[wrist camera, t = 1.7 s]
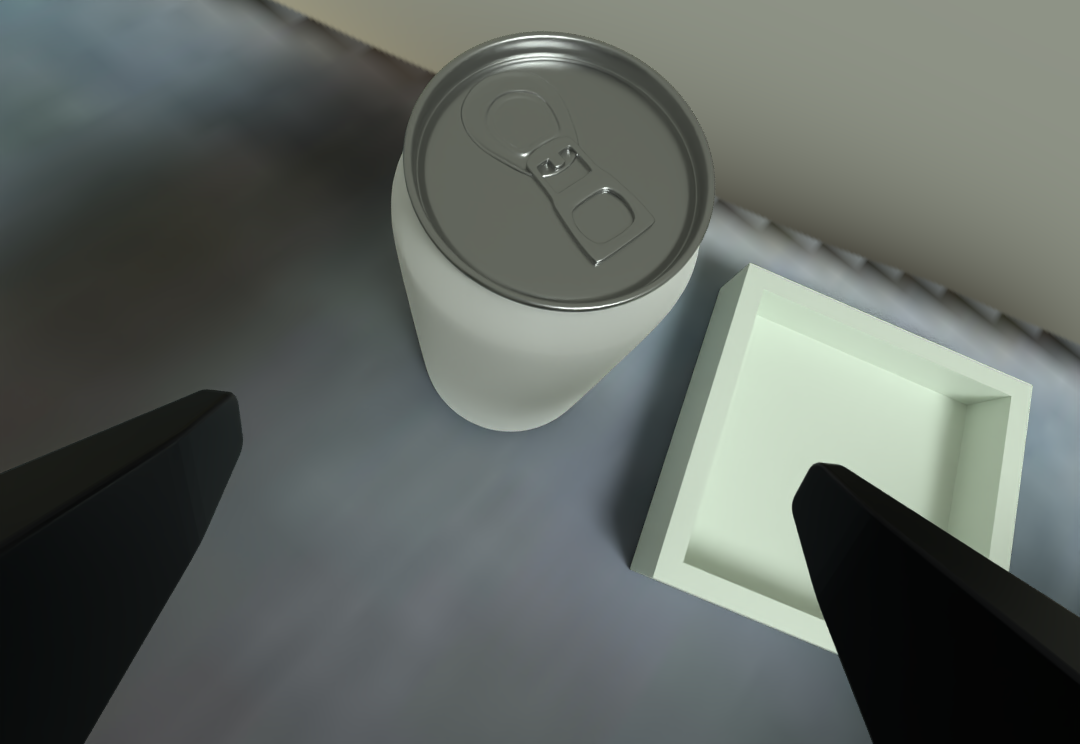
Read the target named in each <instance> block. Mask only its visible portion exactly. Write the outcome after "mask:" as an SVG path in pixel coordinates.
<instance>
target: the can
mask: <svg viewBox="0 0 1080 744" xmlns="http://www.w3.org/2000/svg"><path fill="white" fill-rule="evenodd" d="M714 198H715V174H714V166H713V161H712V156H711V152H710V148H709V146H708V142H707V140H706V137H705V135H704V132H703V130H702V128H701V126H700V124H699V122H698V120H697V118H696V116H695V115H694V113H693V111H692V110H691V108H690V107H689V106H688V104H687V103H686V101H684V99H683V98H682V96H681V95H680V94H679V93H678V92H677V91H676V90H675V88H674V87H673V86H672V85H671V84H670V83H669V82H668V81H667V80H665V78H663V77H662V76H661V75H660V74H659V73H658V72H656V71H655V70H654V69H652V68H651V67H650V66H648V65H647V64H646V63H644V62H643V61H641V60H640V59H638V58H636V57H634V56H633V55H631V54H629V53H627V52H625V51H623V50H621V49H619V48H617V47H615V46H612V45H610V44H607V43H605V42H602V41H599V40H596V39H592V38H589V37H585V36H581V35H576V34H569V33H562V32H546V31H545V32H544V31H540V32H525V33H518V34H511V35H507V36H502V37H499V38H496V39H492V40H490V41H487V42H484V43H482V44H479V45H477V46H475V47H473V48H471V49H469V50H467V51H465V52H464V53H462V54H461V55H459V56H457V57H456V58H455V59H453V60H452V61H450V62H449V63H448V64H447V65H446V66H445V67H443V68H442V69H441V70H440V71H439V72H438V73H437V74H436V75H435V76H434V77H433V78H432V80H431V81H430V82H429V83H428V85H427V86H426V87H425V89H424V90H423V92H422V93H421V95H420V96H419V98H418V100H417V102H416V104H415V106H414V108H413V110H412V113H411V115H410V118H409V121H408V125H407V129H406V133H405V139H404V147H403V152H402V155H401V157H400V160H399V162H398V165H397V168H396V172H395V176H394V180H393V186H392V195H391V218H392V229H393V235H394V241H395V246H396V251H397V255H398V260H399V264H400V268H401V273H402V277H403V281H404V285H405V289H406V293H407V297H408V301H409V305H410V309H411V313H412V317H413V321H414V325H415V328H416V332H417V336H418V340H419V344H420V347H421V351H422V355H423V358H424V362H425V365H426V369H427V372H428V374H429V377H430V379H431V382H432V384H433V386H434V387H435V389H436V391H437V392H438V394H439V395H440V396H441V398H442V399H443V400H444V402H445V403H446V404H447V405H448V406H449V407H450V408H451V409H452V410H454V411H455V412H456V413H457V414H459V415H460V416H461V417H463V418H465V419H466V420H468V421H470V422H472V423H474V424H476V425H479V426H481V427H484V428H488V429H492V430H497V431H508V432H514V431H524V430H529V429H533V428H537V427H540V426H542V425H545V424H547V423H549V422H551V421H553V420H555V419H556V418H558V417H559V416H561V415H562V414H563V413H565V412H566V411H567V410H568V409H570V408H571V407H572V406H573V405H574V404H575V403H576V402H578V401H579V400H580V399H581V398H582V397H583V396H584V395H585V394H586V393H587V392H588V391H589V390H590V389H592V388H593V387H594V386H595V385H596V384H597V383H598V382H599V381H600V380H601V379H602V378H603V377H604V376H605V375H607V374H608V373H609V372H610V371H611V370H612V369H613V368H614V367H615V366H616V365H617V364H618V363H619V362H620V361H621V360H622V359H623V358H624V357H625V356H627V355H628V354H629V353H630V352H631V351H632V350H633V349H634V348H635V347H636V346H637V345H638V344H639V343H640V342H641V341H642V340H643V339H644V338H645V337H646V336H647V335H648V334H649V333H650V332H651V331H652V330H653V329H654V328H655V327H656V326H657V325H658V324H659V323H660V322H661V321H662V320H663V318H664V317H665V316H666V315H667V314H668V313H669V312H670V310H671V309H672V308H673V306H674V305H675V303H676V302H677V301H678V299H679V298H680V296H681V294H682V293H683V291H684V290H685V288H686V286H687V284H688V282H689V280H690V278H691V275H692V273H693V270H694V267H695V264H696V260H697V256H698V251H699V246H700V243H701V241H702V240H703V237H704V235H705V233H706V231H707V228H708V225H709V222H710V219H711V215H712V211H713V205H714Z"/></svg>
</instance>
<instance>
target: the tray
mask: <svg viewBox="0 0 1080 744" xmlns="http://www.w3.org/2000/svg"><path fill="white" fill-rule="evenodd" d="M1032 387H1033V385H1031V384H1028V383H1026V382H1024V381H1021V380H1019V379H1017V378H1014V377H1012V376H1010V375H1007V374H1005V373H1003V372H1001V371H998V370H996V369H994V368H991V367H989V366H987V365H984V364H982V363H980V362H978V361H975V360H973V359H971V358H968V357H966V356H964V355H961V354H959V353H957V352H954V351H952V350H950V349H948V348H945V347H943V346H941V345H938V344H936V343H934V342H931V341H929V340H927V339H925V338H922V337H920V336H918V335H915V334H913V333H911V332H908V331H906V330H904V329H901V328H899V327H897V326H895V325H892V324H890V323H888V322H885V321H883V320H881V319H878V318H876V317H874V316H872V315H869V314H867V313H865V312H862V311H860V310H858V309H855V308H853V307H851V306H848V305H846V304H844V303H842V302H839V301H837V300H835V299H832V298H830V297H828V296H825V295H823V294H821V293H819V292H816V291H814V290H812V289H809V288H807V287H805V286H802V285H800V284H798V283H796V282H793V281H791V280H789V279H786V278H784V277H782V276H779V275H777V274H775V273H772V272H770V271H768V270H766V269H763V268H761V267H759V266H756V265H754V264H752V263H749V264H748V265H747V266H746V267H745V268H744V269H742V270H741V271H740V272H739V273H738V274H737V275H735V276H734V277H733V278H732V279H731V280H730V281H728V282H727V283H726V284H725V285H724V286H723V287H721V288H720V291H719V294H718V297H717V300H716V303H715V306H714V309H713V312H712V315H711V319H710V322H709V325H708V328H707V331H706V334H705V337H704V340H703V343H702V346H701V350H700V353H699V356H698V359H697V362H696V365H695V368H694V371H693V374H692V378H691V381H690V384H689V387H688V390H687V393H686V396H685V399H684V402H683V405H682V409H681V412H680V415H679V418H678V421H677V424H676V427H675V430H674V433H673V436H672V440H671V443H670V446H669V449H668V452H667V455H666V458H665V461H664V464H663V467H662V471H661V474H660V477H659V480H658V483H657V486H656V489H655V492H654V495H653V499H652V502H651V505H650V508H649V511H648V514H647V517H646V520H645V523H644V526H643V530H642V533H641V536H640V539H639V542H638V545H637V548H636V551H635V554H634V557H633V561H632V564H631V567H630V570H632V571H634V572H637V573H639V574H642V575H644V576H647V577H649V578H652V579H654V580H656V581H659V582H661V583H664V584H666V585H669V586H671V587H673V588H676V589H678V590H681V591H683V592H686V593H688V594H691V595H693V596H695V597H698V598H700V599H703V600H705V601H708V602H710V603H712V604H715V605H717V606H720V607H722V608H725V609H727V610H730V611H732V612H734V613H737V614H739V615H742V616H744V617H747V618H749V619H751V620H754V621H756V622H759V623H761V624H764V625H766V626H769V627H771V628H773V629H776V630H778V631H781V632H783V633H786V634H788V635H790V636H793V637H795V638H798V639H800V640H803V641H805V642H808V643H810V644H812V645H815V646H817V647H820V648H822V649H825V650H827V651H829V652H832V653H834V654H837V655H838V653H837V651H836V648H835V646H834V643H833V640H832V638H831V635H830V633H829V630H828V628H827V625H826V623H825V620H824V618H823V615H822V612H821V610H820V607H819V604H818V601H817V598H816V595H815V592H814V589H813V586H812V582H811V579H810V575H809V571H808V568H807V564H806V561H805V557H804V554H803V550H802V547H801V543H800V539H799V536H798V532H797V529H796V525H795V522H794V518H793V514H792V501H793V498H794V496H795V494H796V492H797V490H798V488H799V486H800V485H801V483H802V481H803V479H804V477H805V475H806V474H807V472H808V470H809V468H810V467H811V466H812V465H813V464H815V463H818V462H823V463H832V464H839V465H842V466H844V467H846V468H847V469H849V470H851V471H852V472H854V473H855V474H857V475H858V476H860V477H861V478H863V479H865V480H866V481H868V482H869V483H871V484H872V485H874V486H875V487H877V488H879V489H880V490H882V491H883V492H885V493H886V494H888V495H890V496H891V497H893V498H894V499H896V500H897V501H899V502H900V503H902V504H904V505H905V506H907V507H908V508H910V509H911V510H913V511H914V512H916V513H918V514H919V515H921V516H922V517H924V518H925V519H927V520H929V521H930V522H932V523H933V524H935V525H936V526H938V527H939V528H941V529H943V530H944V531H946V532H947V533H949V534H950V535H952V536H953V537H955V538H957V539H958V540H960V541H961V542H963V543H964V544H966V545H968V546H969V547H971V548H972V549H974V550H975V551H977V552H978V553H980V554H982V555H983V556H985V557H986V558H988V559H989V560H991V561H992V562H994V563H996V564H997V565H999V566H1000V567H1002V568H1003V569H1005V570H1007V571H1008V572H1009V567H1010V559H1011V551H1012V543H1013V535H1014V528H1015V520H1016V512H1017V504H1018V496H1019V489H1020V481H1021V473H1022V465H1023V457H1024V449H1025V442H1026V434H1027V426H1028V418H1029V410H1030V403H1031V395H1032Z"/></svg>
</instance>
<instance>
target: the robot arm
mask: <svg viewBox="0 0 1080 744" xmlns="http://www.w3.org/2000/svg"><path fill="white" fill-rule="evenodd" d="M242 445H243V434H242V427H241V420H240V412H239V405H238V400H237V398H236V396H235V395H234V394H233V393H231V392H224V391H216V390H201V391H198V392H196V393H193V394H191V395H189V396H186V397H184V398H181V399H179V400H176V401H174V402H172V403H169V404H167V405H164V406H162V407H160V408H157V409H155V410H152V411H150V412H148V413H145V414H143V415H140V416H138V417H136V418H133V419H131V420H128V421H126V422H123V423H121V424H119V425H116V426H114V427H111V428H109V429H107V430H104V431H102V432H99V433H97V434H95V435H92V436H90V437H87V438H85V439H83V440H80V441H78V442H75V443H73V444H70V445H68V446H66V447H63V448H61V449H58V450H56V451H54V452H51V453H49V454H46V455H44V456H42V457H39V458H37V459H34V460H32V461H29V462H27V463H25V464H22V465H20V466H17V467H15V468H13V469H10V470H8V471H5V472H3V473H1V474H0V744H84V743H85V741H86V739H87V738H88V736H89V734H90V733H91V731H92V729H93V727H94V726H95V724H96V722H97V721H98V719H99V717H100V715H101V714H102V712H103V710H104V709H105V707H106V705H107V703H108V702H109V700H110V698H111V697H112V695H113V693H114V691H115V690H116V688H117V686H118V685H119V683H120V681H121V680H122V678H123V676H124V674H125V673H126V671H127V669H128V668H129V666H130V664H131V662H132V661H133V659H134V657H135V656H136V654H137V652H138V650H139V649H140V647H141V645H142V644H143V642H144V640H145V638H146V637H147V635H148V633H149V632H150V630H151V628H152V626H153V625H154V623H155V621H156V620H157V618H158V616H159V614H160V613H161V611H162V609H163V608H164V606H165V604H166V602H167V601H168V599H169V597H170V596H171V594H172V592H173V591H174V589H175V587H176V585H177V584H178V582H179V580H180V579H181V577H182V575H183V573H184V572H185V570H186V568H187V567H188V565H189V563H190V561H191V560H192V558H193V556H194V554H195V552H196V551H197V549H198V547H199V545H200V543H201V541H202V539H203V537H204V535H205V533H206V531H207V528H208V526H209V524H210V522H211V519H212V517H213V515H214V513H215V510H216V508H217V506H218V503H219V501H220V499H221V497H222V494H223V492H224V490H225V487H226V485H227V483H228V481H229V478H230V476H231V474H232V471H233V469H234V467H235V465H236V462H237V460H238V458H239V455H240V453H241V449H242ZM792 514H793V518H794V522H795V525H796V529H797V532H798V536H799V539H800V543H801V547H802V550H803V554H804V557H805V561H806V564H807V568H808V571H809V575H810V579H811V582H812V586H813V589H814V592H815V595H816V598H817V601H818V604H819V607H820V610H821V612H822V615H823V618H824V620H825V623H826V625H827V628H828V630H829V633H830V635H831V638H832V640H833V643H834V646H835V648H836V651H837V653H838V656H839V658H840V661H841V663H842V666H843V669H844V671H845V674H846V676H847V679H848V681H849V684H850V686H851V689H852V691H853V694H854V697H855V699H856V702H857V704H858V707H859V709H860V712H861V714H862V717H863V720H864V722H865V725H866V727H867V730H868V732H869V735H870V737H871V740H872V742H873V744H1080V617H1078V616H1077V615H1075V614H1074V613H1072V612H1070V611H1069V610H1067V609H1066V608H1064V607H1063V606H1061V605H1060V604H1058V603H1056V602H1055V601H1053V600H1052V599H1050V598H1049V597H1047V596H1046V595H1044V594H1042V593H1041V592H1039V591H1038V590H1036V589H1035V588H1033V587H1031V586H1030V585H1028V584H1027V583H1025V582H1024V581H1022V580H1021V579H1019V578H1017V577H1016V576H1014V575H1013V574H1011V573H1010V572H1008V571H1007V570H1005V569H1003V568H1002V567H1000V566H999V565H997V564H996V563H994V562H992V561H991V560H989V559H988V558H986V557H985V556H983V555H982V554H980V553H978V552H977V551H975V550H974V549H972V548H971V547H969V546H968V545H966V544H964V543H963V542H961V541H960V540H958V539H957V538H955V537H953V536H952V535H950V534H949V533H947V532H946V531H944V530H943V529H941V528H939V527H938V526H936V525H935V524H933V523H932V522H930V521H929V520H927V519H925V518H924V517H922V516H921V515H919V514H918V513H916V512H914V511H913V510H911V509H910V508H908V507H907V506H905V505H904V504H902V503H900V502H899V501H897V500H896V499H894V498H893V497H891V496H890V495H888V494H886V493H885V492H883V491H882V490H880V489H879V488H877V487H875V486H874V485H872V484H871V483H869V482H868V481H866V480H865V479H863V478H861V477H860V476H858V475H857V474H855V473H854V472H852V471H851V470H849V469H847V468H846V467H844V466H842V465H839V464H832V463H823V462H818V463H815V464H813V465H812V466H811V467H810V468H809V470H808V472H807V474H806V475H805V477H804V479H803V481H802V483H801V485H800V486H799V488H798V490H797V492H796V494H795V496H794V498H793V501H792Z"/></svg>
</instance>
